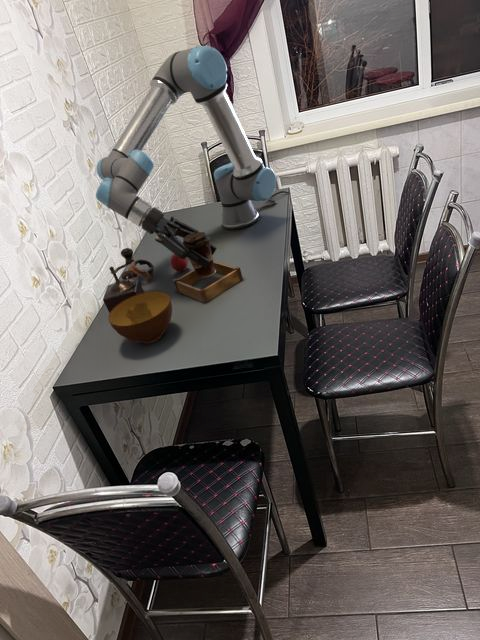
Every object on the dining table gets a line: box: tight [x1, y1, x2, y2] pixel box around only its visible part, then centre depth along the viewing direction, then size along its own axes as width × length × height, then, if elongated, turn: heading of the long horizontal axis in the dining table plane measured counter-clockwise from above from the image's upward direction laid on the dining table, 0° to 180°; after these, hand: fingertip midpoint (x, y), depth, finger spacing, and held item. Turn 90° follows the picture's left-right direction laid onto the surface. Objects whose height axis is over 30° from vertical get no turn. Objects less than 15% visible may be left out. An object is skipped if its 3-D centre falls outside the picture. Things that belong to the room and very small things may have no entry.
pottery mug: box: [120, 259, 155, 283], centre depth 167 cm, size 12×10×8 cm
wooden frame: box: [172, 260, 244, 304], centre depth 152 cm, size 16×16×4 cm
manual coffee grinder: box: [102, 247, 146, 314], centre depth 147 cm, size 16×11×18 cm
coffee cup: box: [182, 231, 216, 279], centre depth 147 cm, size 9×8×13 cm
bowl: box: [107, 290, 173, 344], centre depth 132 cm, size 18×18×10 cm
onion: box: [170, 253, 188, 273], centre depth 165 cm, size 6×6×8 cm
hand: (211, 257), depth 147 cm, fingers closed on coffee cup, 8 cm apart
